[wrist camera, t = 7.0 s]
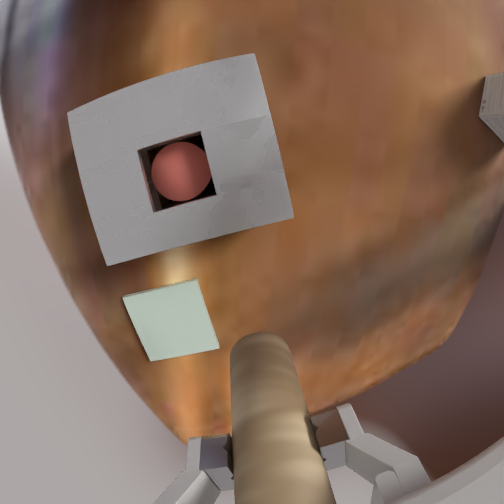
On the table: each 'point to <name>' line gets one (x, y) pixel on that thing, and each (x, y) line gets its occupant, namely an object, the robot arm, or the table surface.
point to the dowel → (272, 428)
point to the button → (181, 171)
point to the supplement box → (493, 104)
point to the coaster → (172, 320)
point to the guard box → (170, 131)
